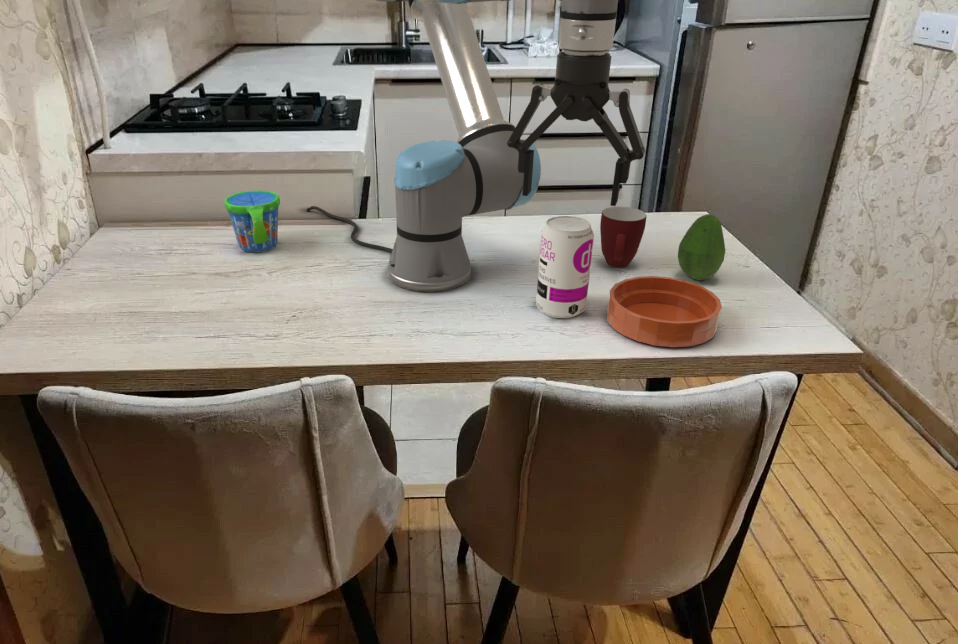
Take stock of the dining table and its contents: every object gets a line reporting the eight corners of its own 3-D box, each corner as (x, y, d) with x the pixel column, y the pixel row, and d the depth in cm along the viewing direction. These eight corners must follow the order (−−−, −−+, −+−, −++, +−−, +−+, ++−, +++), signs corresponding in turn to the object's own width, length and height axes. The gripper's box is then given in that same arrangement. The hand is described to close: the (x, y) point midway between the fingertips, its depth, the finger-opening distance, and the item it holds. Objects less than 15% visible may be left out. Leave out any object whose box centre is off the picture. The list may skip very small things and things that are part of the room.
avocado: (714, 270, 135) (727, 208, 129) (723, 288, 128) (737, 223, 122) (670, 268, 136) (681, 206, 130) (676, 285, 129) (688, 221, 123)
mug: (643, 279, 132) (651, 226, 127) (598, 277, 133) (604, 225, 128) (636, 256, 141) (643, 207, 136) (594, 255, 142) (600, 205, 137)
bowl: (592, 332, 114) (595, 307, 112) (624, 292, 127) (627, 268, 125) (702, 359, 107) (708, 333, 105) (725, 314, 120) (730, 289, 117)
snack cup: (232, 235, 152) (225, 187, 147) (283, 231, 154) (277, 184, 149) (230, 264, 139) (223, 212, 133) (286, 259, 140) (281, 208, 135)
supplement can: (594, 308, 122) (604, 222, 114) (566, 324, 117) (575, 236, 109) (554, 293, 127) (561, 211, 119) (526, 309, 121) (532, 224, 114)
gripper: (491, 50, 102) (485, 196, 113) (675, 60, 95) (649, 215, 106) (505, 43, 108) (498, 182, 119) (678, 52, 101) (654, 199, 112)
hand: (569, 198), depth 112 cm, fingers open, 13 cm apart
